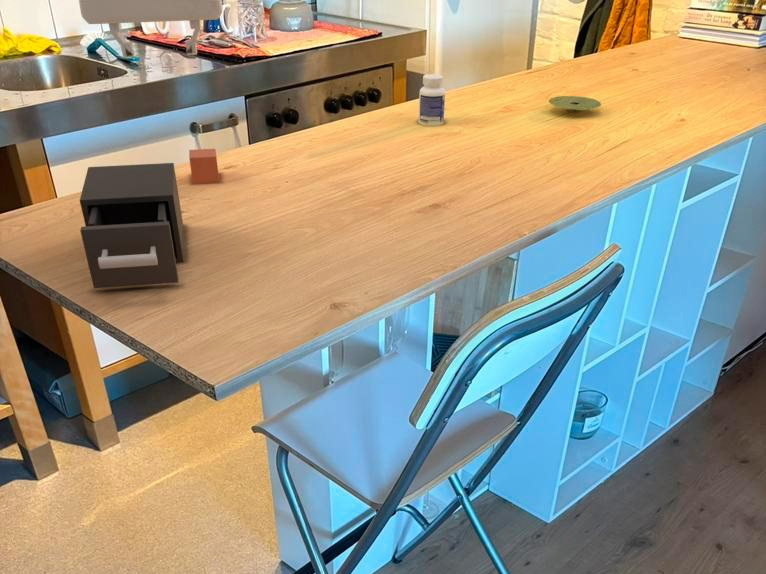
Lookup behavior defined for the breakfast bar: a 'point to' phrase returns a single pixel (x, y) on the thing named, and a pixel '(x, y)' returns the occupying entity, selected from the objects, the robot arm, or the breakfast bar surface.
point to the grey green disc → (574, 103)
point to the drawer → (130, 245)
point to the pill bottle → (431, 101)
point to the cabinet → (136, 192)
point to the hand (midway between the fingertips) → (160, 55)
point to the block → (204, 166)
